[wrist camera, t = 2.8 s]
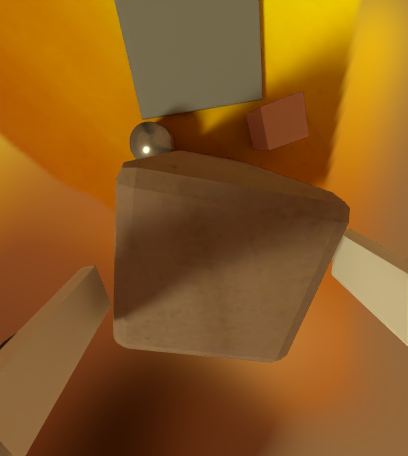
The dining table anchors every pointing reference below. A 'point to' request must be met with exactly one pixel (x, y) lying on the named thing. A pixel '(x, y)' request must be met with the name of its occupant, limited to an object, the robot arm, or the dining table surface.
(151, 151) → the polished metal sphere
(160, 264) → the wooden block
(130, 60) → the mat
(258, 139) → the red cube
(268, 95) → the dining table surface
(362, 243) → the robot arm
